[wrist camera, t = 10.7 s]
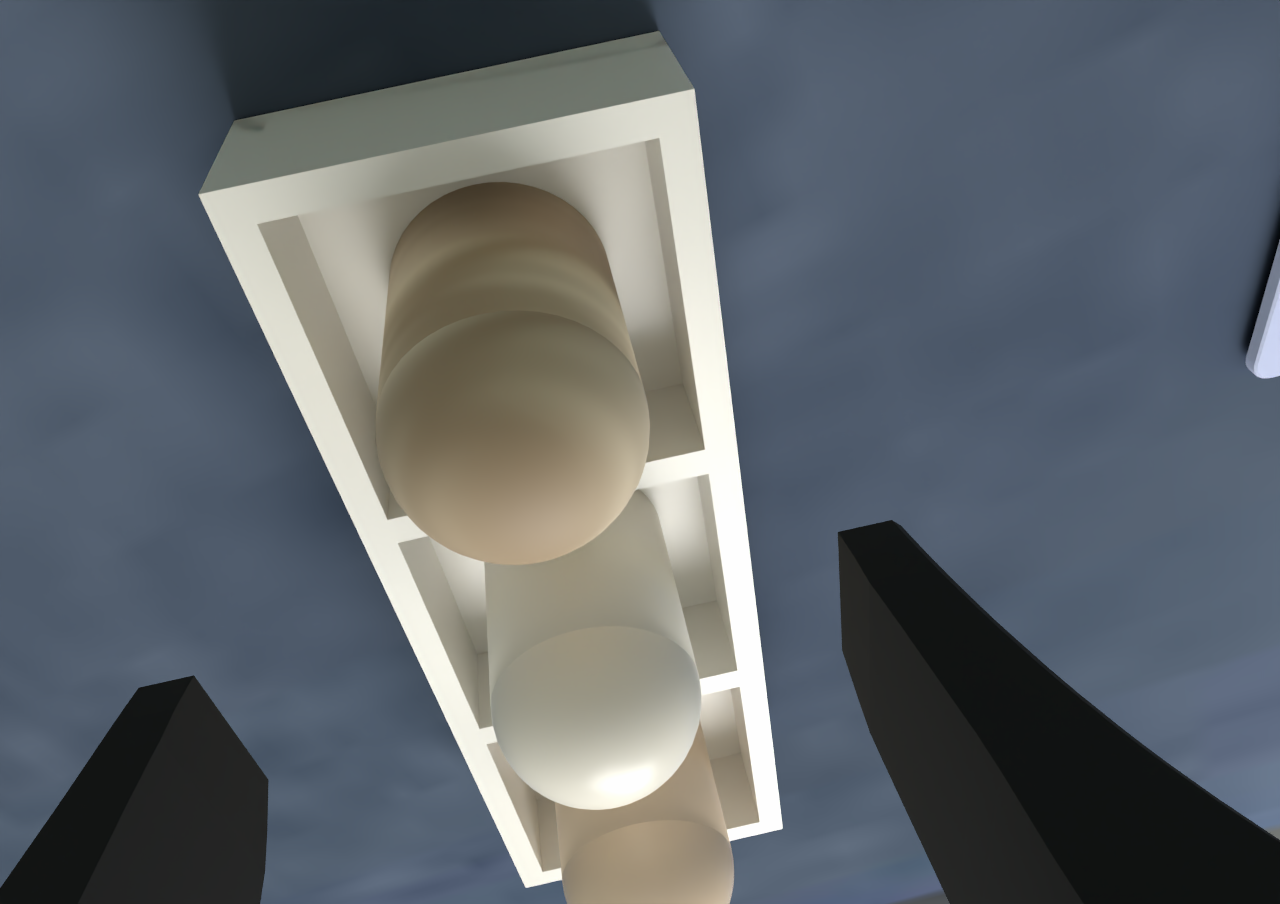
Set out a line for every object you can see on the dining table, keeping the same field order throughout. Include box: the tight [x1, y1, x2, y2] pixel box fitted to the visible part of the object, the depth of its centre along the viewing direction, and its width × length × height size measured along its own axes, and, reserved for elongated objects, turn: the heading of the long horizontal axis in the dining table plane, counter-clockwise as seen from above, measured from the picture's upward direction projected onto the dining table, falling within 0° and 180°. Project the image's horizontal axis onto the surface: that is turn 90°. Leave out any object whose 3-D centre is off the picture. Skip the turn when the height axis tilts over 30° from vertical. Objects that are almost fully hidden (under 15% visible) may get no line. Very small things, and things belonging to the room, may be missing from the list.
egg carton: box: [198, 31, 783, 904], centre depth 20 cm, size 7×20×7 cm, turn 9°
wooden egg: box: [376, 182, 650, 565], centre depth 15 cm, size 4×4×6 cm
